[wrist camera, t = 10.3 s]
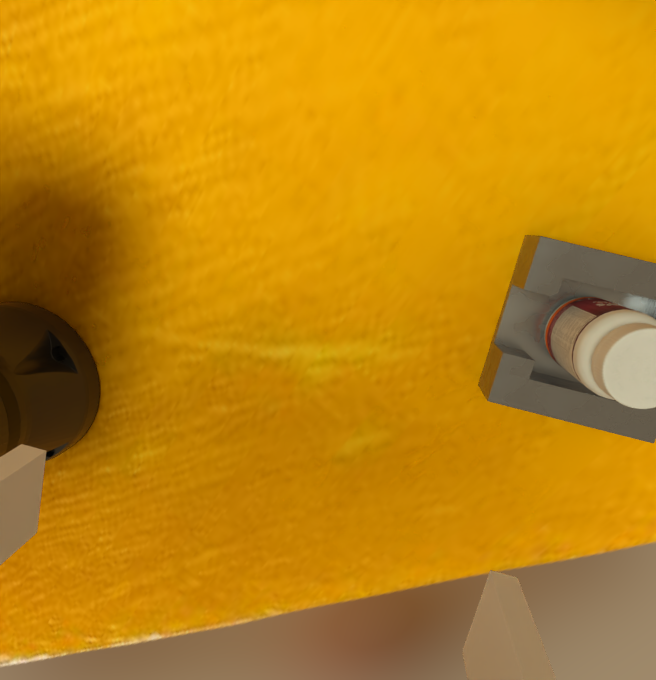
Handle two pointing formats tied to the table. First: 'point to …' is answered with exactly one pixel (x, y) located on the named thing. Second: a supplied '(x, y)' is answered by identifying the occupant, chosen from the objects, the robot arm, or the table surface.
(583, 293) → the bracket
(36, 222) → the table surface
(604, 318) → the pill bottle
